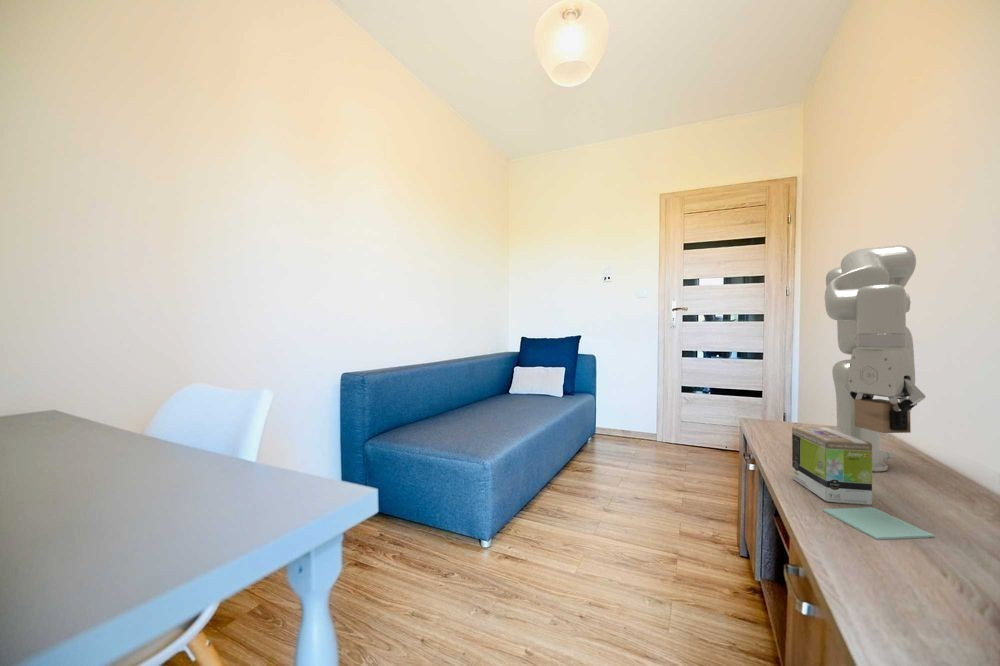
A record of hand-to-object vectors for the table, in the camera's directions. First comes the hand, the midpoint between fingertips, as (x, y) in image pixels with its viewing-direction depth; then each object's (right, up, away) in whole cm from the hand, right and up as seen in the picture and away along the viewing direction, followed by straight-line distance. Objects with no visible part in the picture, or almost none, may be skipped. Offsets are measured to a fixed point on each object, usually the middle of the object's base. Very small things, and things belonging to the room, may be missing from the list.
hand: (881, 425), depth 82 cm
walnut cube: (0, -1, 0) cm, 1 cm away
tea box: (+2, -21, +15) cm, 25 cm away
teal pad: (-3, -20, -1) cm, 21 cm away
